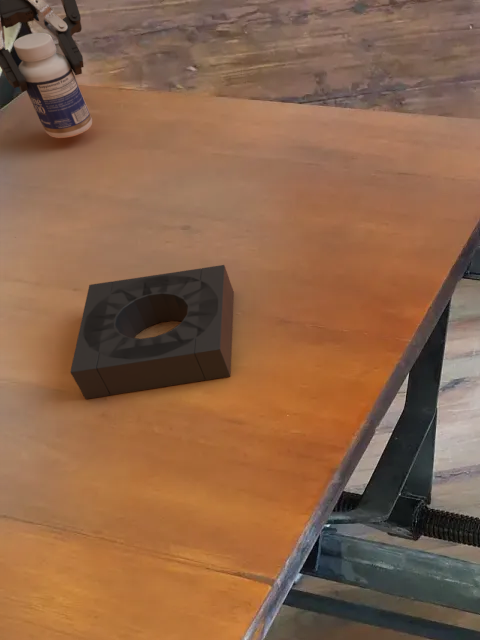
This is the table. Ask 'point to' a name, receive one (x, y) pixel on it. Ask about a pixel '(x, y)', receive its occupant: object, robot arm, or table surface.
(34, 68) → the pill bottle
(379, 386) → the table surface
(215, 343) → the socket plate
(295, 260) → the table surface
